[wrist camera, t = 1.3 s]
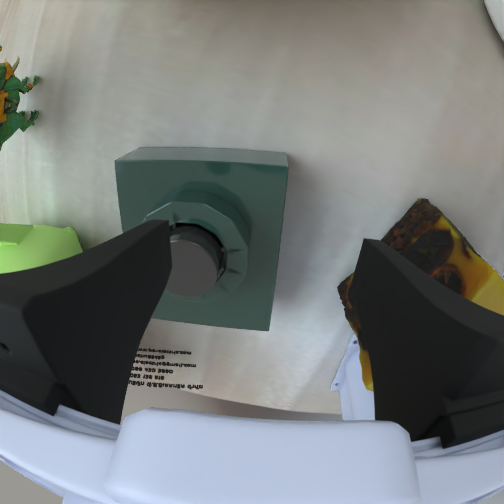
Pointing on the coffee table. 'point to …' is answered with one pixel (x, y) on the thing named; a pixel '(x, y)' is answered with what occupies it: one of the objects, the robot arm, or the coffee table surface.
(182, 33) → the coffee table surface
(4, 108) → the figurine
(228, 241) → the button base
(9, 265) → the teapot
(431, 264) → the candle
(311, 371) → the coffee table surface
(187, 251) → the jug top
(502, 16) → the flower in vase
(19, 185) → the coffee table surface
